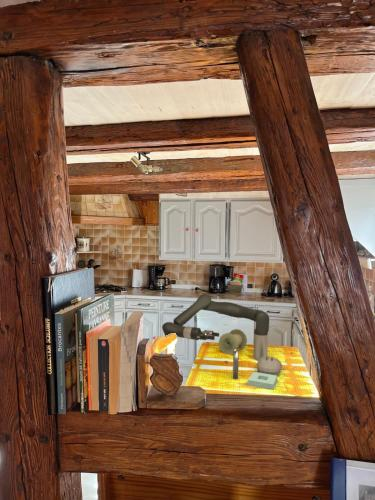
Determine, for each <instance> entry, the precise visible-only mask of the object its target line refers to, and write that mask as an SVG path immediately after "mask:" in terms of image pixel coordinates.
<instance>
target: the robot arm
mask: <svg viewBox="0 0 375 500" xmlns="http://www.w3.org/2000/svg"><path fill="white" fill-rule="evenodd" d="M200 311H208V312H209V311H210V312H212V313H213V312H214V313H217V314H221V315H225V316H228V317H231V318H232V317H233V318H237V319H246V320H250V321H253V322H255V329H254V330H253V335H254V337H253V359H254V360H255V361H258V360H259V359H261V358H262V357H268V339H269V335H268V334H269V330H270V329H269V328H270V316H269V314H268V313H267V312H265V311H264V310H261V309H253V308H248V307H246V306H243V305H241V304H237V303H233V302H230V301H229V302H228V301H213V300H212V298H211V296H210V295H209V294H207V293H203V294H201V295H200V296H199V297H198V298H197V299H196V300H195V301H194V303H192V304H191V305H190V306H189V307H188V308H186V309H185V310H183V311H182V312H181V313H180V314H179V315H177V316H176V317H174V318H173V322H171V321H168V322H164V323H163V324H162V326H161V329H162V331H163V334H164V336H165V337H166V335H168V334H170V333H176V335H177V336H176V335H175V336H176V337H178V338H180V339H181V338H182V339H183V338H184V339H187V340H193V341H199V340H201V341H206V340H207V341H208V340H210V341H214V340H215V339H216V338H215V337H219V338H220V333H219V332H214V330H208V329H205V330H201V327H196V326H194V327H193V326H185V325H186V324H187V323H188V322H190V320H191V319H193V317H194V316H195V315H196V314H198V313H199V312H200Z"/></svg>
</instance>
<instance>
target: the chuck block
mask: <svg viewBox="0 0 375 500" xmlns="http://www.w3.org/2000/svg"><path fill="white" fill-rule="evenodd" d="M277 382H278V376H276V375H270V374H264V373H259V371H258V372H257V371H252V373H251V374H250V376H249V377H248V379H247V386H250V387H255V388H259V389H260V388H261V389H266V390H271V391H274V389H275V387H276V384H277Z"/></svg>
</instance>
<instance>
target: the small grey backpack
mask: <svg viewBox="0 0 375 500" xmlns="http://www.w3.org/2000/svg"><path fill="white" fill-rule="evenodd" d="M256 365H257V370H258V373H264V374H270V375H276V376H277V377H278V376H279V375H280V373H281V369H282V367H283V365H282V361H281V360H279V359H278V358H276V357H273V356H267V357H262V358H261V359H259V360H257V362H256Z"/></svg>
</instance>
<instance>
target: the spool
mask: <svg viewBox="0 0 375 500" xmlns="http://www.w3.org/2000/svg"><path fill="white" fill-rule="evenodd" d="M247 343H248V339H247V335H246V334H245V332H244V331H242V330H241V329H237V328H235V329H232V330H230V332H226V333H223V334H221V336H219V340H218V346H219V349H220V350H221V352H222V353H224V354H225V355H228V356H229V355H230V356H232V355H233V350H234V349H235V348H236V347H239V349H240V350H243V349H244V348H245V347H246V345H247Z"/></svg>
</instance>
